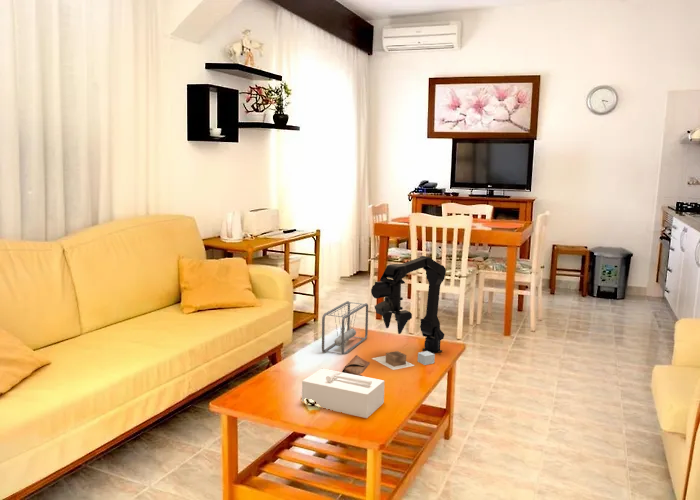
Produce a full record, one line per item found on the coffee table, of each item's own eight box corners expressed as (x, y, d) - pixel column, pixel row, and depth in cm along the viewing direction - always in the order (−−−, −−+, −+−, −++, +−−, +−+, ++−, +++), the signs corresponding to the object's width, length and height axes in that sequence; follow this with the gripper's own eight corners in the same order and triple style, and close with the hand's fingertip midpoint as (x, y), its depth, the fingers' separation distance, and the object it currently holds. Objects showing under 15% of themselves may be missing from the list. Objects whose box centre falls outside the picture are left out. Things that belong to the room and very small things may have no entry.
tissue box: (321, 390, 225) (322, 362, 224) (383, 403, 214) (384, 374, 213) (302, 404, 212) (302, 374, 211) (366, 419, 202) (367, 387, 200)
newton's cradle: (343, 357, 262) (343, 317, 260) (321, 353, 266) (321, 314, 264) (367, 338, 290) (368, 302, 287) (347, 335, 294) (348, 300, 291)
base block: (397, 360, 257) (397, 350, 256) (405, 364, 252) (406, 355, 251) (385, 362, 254) (386, 353, 253) (394, 366, 249) (394, 357, 248)
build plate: (392, 356, 264) (392, 354, 264) (414, 367, 251) (415, 365, 250) (371, 360, 258) (371, 358, 258) (393, 372, 245) (393, 369, 245)
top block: (426, 362, 258) (427, 350, 257) (434, 365, 254) (434, 354, 253) (417, 364, 256) (417, 352, 255) (424, 367, 251) (425, 356, 251)
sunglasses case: (362, 378, 238) (354, 363, 238) (347, 385, 240) (339, 370, 240) (373, 363, 255) (365, 349, 255) (359, 370, 257) (351, 356, 257)
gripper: (365, 292, 257) (365, 328, 260) (390, 302, 241) (389, 339, 244) (387, 289, 262) (387, 324, 265) (413, 298, 247) (412, 335, 249)
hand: (393, 330), depth 256 cm, fingers open, 9 cm apart
